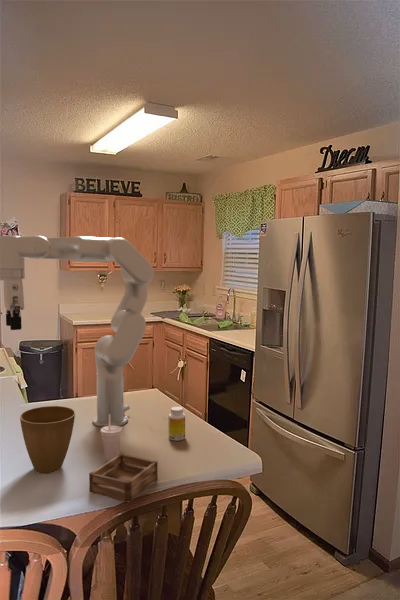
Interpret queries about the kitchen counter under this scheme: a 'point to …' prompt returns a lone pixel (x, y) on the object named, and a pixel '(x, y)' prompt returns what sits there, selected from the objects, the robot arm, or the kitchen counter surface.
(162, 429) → the kitchen counter surface
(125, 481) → the crate
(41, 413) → the plant pot
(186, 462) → the kitchen counter surface
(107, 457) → the smoothie
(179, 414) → the supplement bottle
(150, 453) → the kitchen counter surface
